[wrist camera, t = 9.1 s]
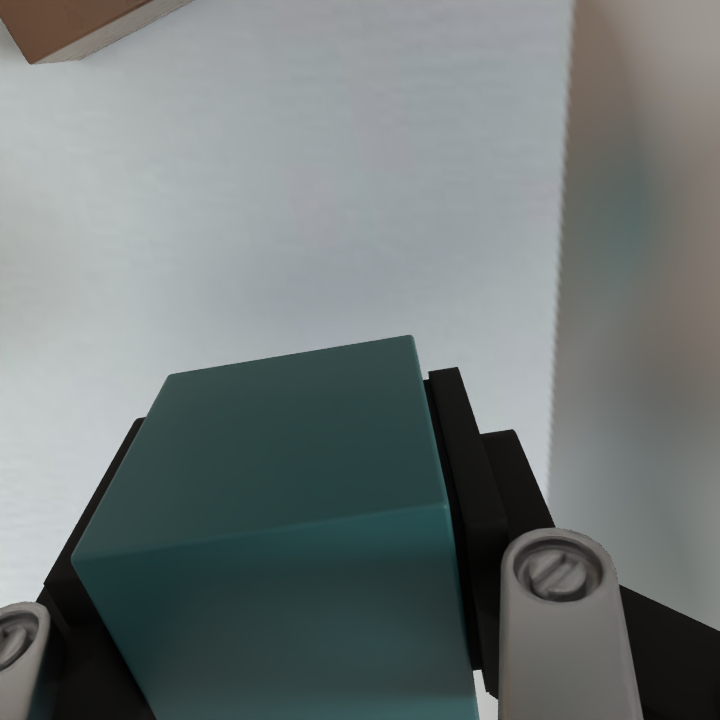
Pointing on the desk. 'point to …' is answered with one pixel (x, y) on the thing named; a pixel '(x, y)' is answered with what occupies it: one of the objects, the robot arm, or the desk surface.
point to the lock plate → (76, 24)
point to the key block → (286, 545)
